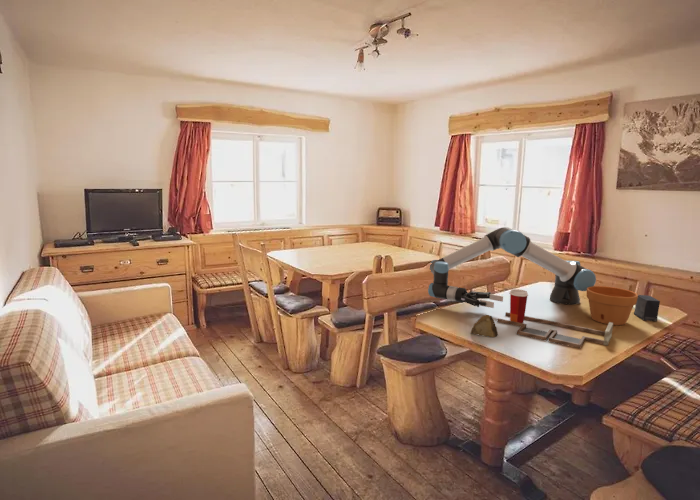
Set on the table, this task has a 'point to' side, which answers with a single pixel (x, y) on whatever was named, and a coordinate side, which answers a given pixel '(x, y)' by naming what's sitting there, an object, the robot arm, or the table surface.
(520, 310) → the coffee cup
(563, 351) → the table surface
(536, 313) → the table surface
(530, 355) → the table surface
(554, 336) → the channel
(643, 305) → the small box
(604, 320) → the flower pot
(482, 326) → the rock
